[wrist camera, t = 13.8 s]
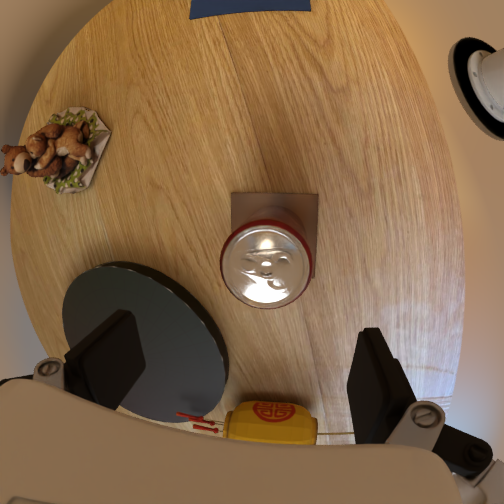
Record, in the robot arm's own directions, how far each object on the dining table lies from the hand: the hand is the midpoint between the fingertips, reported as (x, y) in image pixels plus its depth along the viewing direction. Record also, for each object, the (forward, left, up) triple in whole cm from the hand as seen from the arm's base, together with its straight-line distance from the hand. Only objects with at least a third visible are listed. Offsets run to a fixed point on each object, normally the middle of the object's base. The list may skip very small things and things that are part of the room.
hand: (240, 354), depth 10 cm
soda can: (0, 0, -23) cm, 23 cm away
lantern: (-1, +29, -23) cm, 37 cm away
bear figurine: (+30, -13, -23) cm, 40 cm away
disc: (+21, +19, -23) cm, 37 cm away
